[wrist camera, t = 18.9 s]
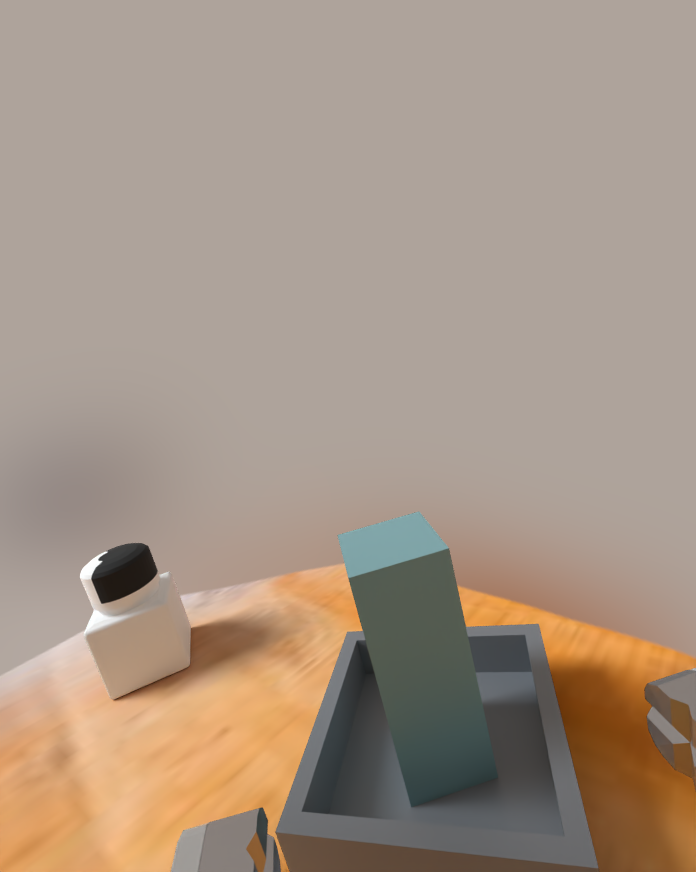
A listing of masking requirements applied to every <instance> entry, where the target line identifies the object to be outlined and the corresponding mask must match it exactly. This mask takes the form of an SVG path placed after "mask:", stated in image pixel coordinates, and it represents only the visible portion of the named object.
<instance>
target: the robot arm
mask: <svg viewBox="0 0 696 872" xmlns="http://www.w3.org/2000/svg"><path fill="white" fill-rule="evenodd" d="M645 699H646V700H647V701H648V702H649V703H650V704H651V705H652V708H651V709H650V711H649V713H648V715H647V722H648V730H649V732H650V734H651V737H652V739H653V741H654V743H655V745H656V747H657V748H658V750H659V751H660V752H661V754H662V755H663V757H664V758H665V759H666V760H667V761H668V762H669V764H670V765H671V766H672V767H673V768H674V769H675V770H677V771H679V772H681V773H683V774H685V775H687V776H689V777H691V778H693V782H694V786H695V790H696V668H694V669H691V670H686V671H683V672H680V673H677V674H674V675H671V676H668V677H665V678H662V679H659V680H656V681H653V682H650V683H647V685H646V687H645ZM267 827H268V820H267V817H266V814H265V812H264V809H263V808H258V809H255V810H251V811H248V812H244V813H241V814H237V815H234V816H230V817H227V818H223V819H220V820H216V821H213V822H209V823H206V824H203V825H200V826H196V827H193V828H190V829H186V830H183V832H182V834H181V836H180V838H179V840H178V843H177V847H176V851H175V856H174V860H173V864H172V869H171V872H281V868H280V859H279V855H278V850H277V846H276V843H275V840H274V838H273V837H272V836H270V835H268V834H267Z"/></svg>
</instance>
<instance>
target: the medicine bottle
mask: <svg viewBox="0 0 696 872" xmlns="http://www.w3.org/2000/svg"><path fill="white" fill-rule="evenodd" d="M80 578H81V581H82V583H83V585H84V588H85V590H86V593H87V595H88V597H89V600H90V602H91V604H92V607H93V608H94V612H93V614H92V617H91V619H90V621H89V623H88V625H87V628H86V630H85V632H84V639H85V641H86V644H87V646H88V648H89V651H90V653H91V655H92V657H93V660H94V662H95V664H96V667H97V669H98V671H99V674H100V676H101V678H102V681H103V683H104V685H105V688H106V690H107V692H108V694H109V697H110V698H111V699H117V698H119V697H121V696H123V695H126V694H128V693H130V692H132V691H135V690H137V689H139V688H142V687H144V686H146V685H148V684H151V683H153V682H155V681H157V680H160V679H162V678H164V677H167V676H169V675H171V674H173V673H176V672H178V671H180V670H183V669H185V668H187V667H188V666H189V665H190V645H191V625H190V623H189V620H188V617H187V614H186V612H185V609H184V606H183V604H182V601H181V598H180V595H179V593H178V590H177V587H176V585H175V582H174V579H173V577H172V574H171V573H170V572H166V573H164V574H161V575H159V573H158V570H157V568H156V565H155V562H154V560H153V557H152V555H151V552H150V550H149V547H148V546H147V545H145V544H142V543H131V544H125V545H121V546H118V547H115V548H112V549H110V550H108V551H106V552H104V553H102V554H100V555H98V556H97V557H95V558H94V559H92V560H91V561H90V562H89V563H88V564H87V565H86V566H85V567H84V568H83V569H82V572H81V574H80Z"/></svg>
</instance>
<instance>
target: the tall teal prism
mask: <svg viewBox="0 0 696 872" xmlns="http://www.w3.org/2000/svg"><path fill="white" fill-rule="evenodd" d="M338 538H339V543H340V546H341V550H342V554H343V558H344V562H345V566H346V570H347V574H348V578H349V582H350V585H351V589H352V593H353V596H354V600H355V604H356V607H357V611H358V615H359V618H360V622H361V626H362V629H363V633H364V637H365V640H366V644H367V648H368V651H369V655H370V659H371V662H372V666H373V670H374V673H375V677H376V680H377V684H378V688H379V691H380V695H381V699H382V702H383V706H384V710H385V713H386V717H387V721H388V724H389V728H390V732H391V735H392V739H393V743H394V746H395V750H396V754H397V757H398V761H399V765H400V768H401V772H402V775H403V779H404V783H405V786H406V790H407V794H408V797H409V801H410V805H411V807H414V806H417V805H419V804H422V803H425V802H428V801H431V800H434V799H437V798H440V797H443V796H446V795H449V794H452V793H454V792H457V791H460V790H463V789H466V788H469V787H472V786H475V785H478V784H481V783H484V782H487V781H489V780H492V779H495V778H498V774H497V769H496V764H495V760H494V755H493V751H492V746H491V741H490V737H489V732H488V727H487V723H486V718H485V713H484V709H483V704H482V700H481V695H480V690H479V686H478V681H477V676H476V672H475V667H474V662H473V658H472V653H471V648H470V644H469V639H468V635H467V630H466V625H465V621H464V616H463V611H462V607H461V602H460V597H459V593H458V588H457V583H456V579H455V575H454V570H453V565H452V560H451V556H450V551H449V548H448V547H447V545H446V544H445V543H444V542H443V541H442V539H441V538H440V537H439V536H438V534H437V533H436V532H435V531H434V529H433V528H432V527H431V526H430V524H429V523H428V522H427V521H426V519H425V518H424V517H423V516H422V515H421V513H420V512H416V513H412V514H409V515H405V516H402V517H398V518H395V519H392V520H388V521H385V522H381V523H378V524H375V525H371V526H368V527H364V528H360V529H357V530H353V531H350V532H347V533H343V534H340V535H338Z"/></svg>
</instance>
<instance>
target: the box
mask: <svg viewBox="0 0 696 872" xmlns="http://www.w3.org/2000/svg"><path fill="white" fill-rule="evenodd" d="M466 630H467V635H468V639H469V644H470V648H471V653H472V658H473V662H474V667H475V672H476V676H477V681H478V686H479V690H480V695H481V700H482V704H483V709H484V713H485V718H486V723H487V727H488V732H489V737H490V741H491V746H492V751H493V755H494V760H495V764H496V769H497V774H498V778H495V779H492V780H489V781H487V782H484V783H481V784H478V785H475V786H472V787H469V788H466V789H463V790H460V791H457V792H454V793H452V794H449V795H446V796H443V797H440V798H437V799H434V800H431V801H428V802H425V803H422V804H419V805H417V806H414V807H411V805H410V801H409V797H408V794H407V790H406V786H405V783H404V779H403V775H402V772H401V768H400V765H399V761H398V757H397V754H396V750H395V746H394V743H393V739H392V735H391V732H390V728H389V724H388V721H387V717H386V713H385V710H384V706H383V702H382V699H381V695H380V691H379V688H378V684H377V680H376V677H375V673H374V670H373V666H372V662H371V659H370V655H369V651H368V648H367V644H366V640H365V637H364V633H363V631H356V632H347V634H346V637H345V640H344V643H343V646H342V648H341V651H340V654H339V657H338V659H337V662H336V665H335V668H334V671H333V673H332V676H331V679H330V682H329V684H328V687H327V690H326V693H325V696H324V698H323V701H322V704H321V707H320V710H319V712H318V715H317V718H316V721H315V723H314V726H313V729H312V732H311V735H310V737H309V740H308V743H307V746H306V749H305V751H304V754H303V757H302V760H301V762H300V765H299V768H298V771H297V774H296V776H295V779H294V782H293V785H292V788H291V790H290V793H289V796H288V799H287V801H286V804H285V807H284V810H283V813H282V815H281V818H280V821H279V824H278V826H277V829H276V835H277V838H278V841H279V843H280V846H281V849H282V852H283V854H284V857H285V860H286V863H287V865H288V868H289V871H290V872H599V868H598V864H597V859H596V855H595V851H594V847H593V843H592V839H591V835H590V831H589V827H588V823H587V819H586V815H585V811H584V807H583V803H582V798H581V794H580V790H579V786H578V782H577V778H576V774H575V770H574V766H573V762H572V758H571V754H570V750H569V746H568V742H567V738H566V733H565V729H564V725H563V721H562V717H561V713H560V709H559V705H558V701H557V697H556V693H555V689H554V685H553V681H552V677H551V672H550V668H549V664H548V660H547V656H546V652H545V648H544V644H543V640H542V636H541V632H540V628H539V624H526V625H501V626H477V627H466Z"/></svg>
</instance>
